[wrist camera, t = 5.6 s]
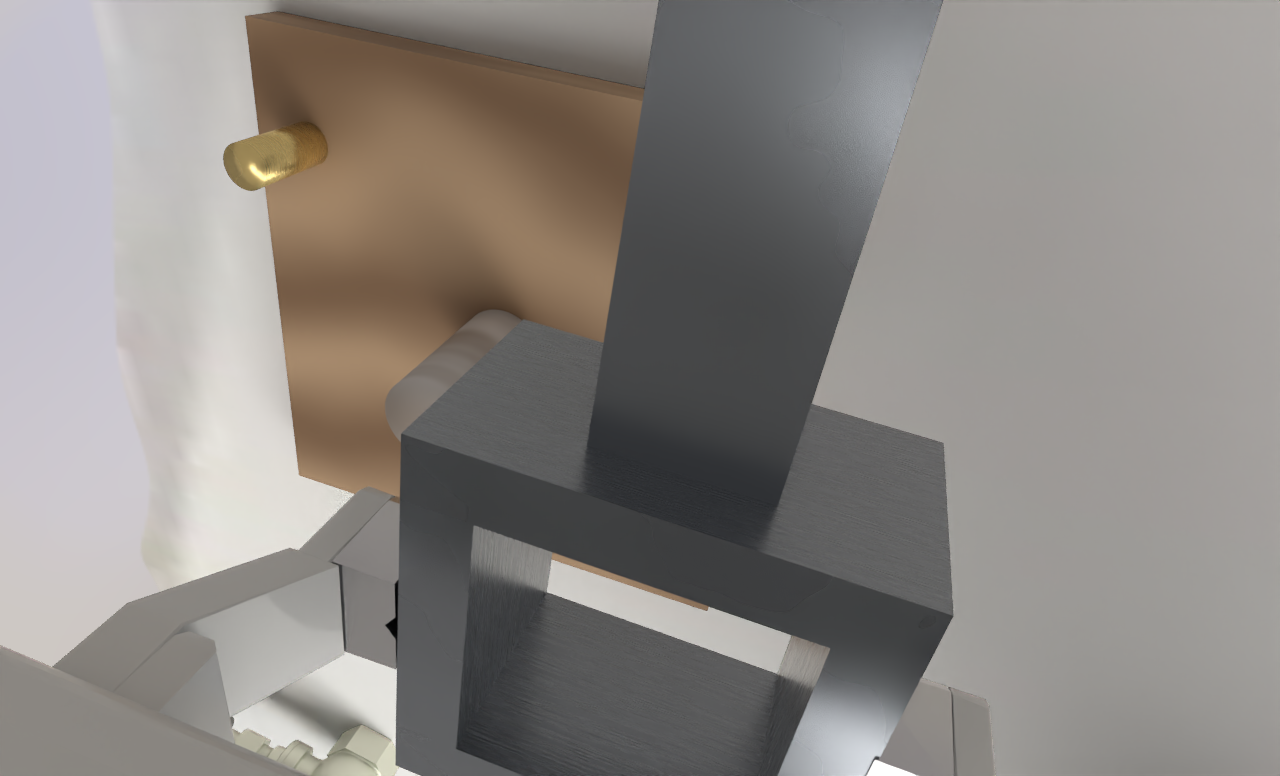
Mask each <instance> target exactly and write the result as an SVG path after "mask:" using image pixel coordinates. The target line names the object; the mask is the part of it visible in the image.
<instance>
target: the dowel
mask: <svg viewBox="0 0 1280 776" xmlns="http://www.w3.org/2000/svg"><path fill="white" fill-rule="evenodd" d="M327 155H328V145H327V141H326V139H325V137H324V135H323V133H322V132H321V131H320V129H319V128H318V127H316V126H315V125H314V124H312V123H310V122H305V121H302V122H298V123H295V124H291V125H288V126H285V127H282V128H279V129H276V130H273V131H270V132H266V133H263V134H260V135H257V136H254V137H251V138H248V139H245V140H241V141H238V142H235V143H232V144H230V145H229V146H227V148H226V149H225V151H224V156H223V160H224V166H225V169H226V171H227V173H228V175H229V177H230V178H231V179H232V180H233V182H234V183H235V184H237V185H238V186H239V187H241V188H243V189H245V190H249V191H254V190H257V189H260V188H262V187H265V186H267V185H270V184H272V183H275V182H277V181H280V180H282V179H285V178H287V177H290V176H292V175H295V174H297V173H300V172H302V171H305V170H307V169H310V168H312V167H315V166H317V165H320V164H322V163H323V162H324V161H325V160H326V158H327Z"/></svg>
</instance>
